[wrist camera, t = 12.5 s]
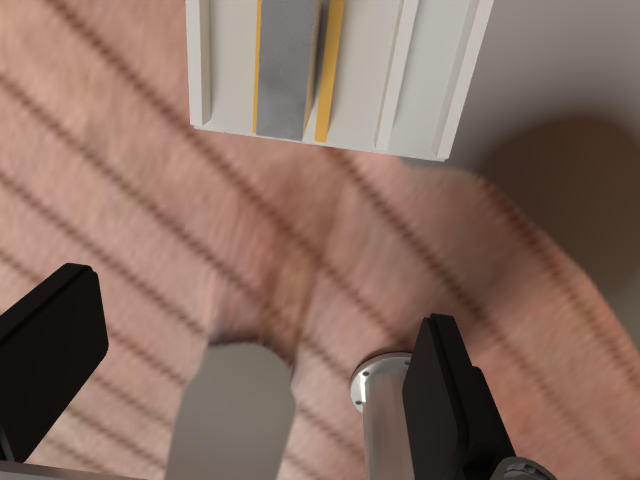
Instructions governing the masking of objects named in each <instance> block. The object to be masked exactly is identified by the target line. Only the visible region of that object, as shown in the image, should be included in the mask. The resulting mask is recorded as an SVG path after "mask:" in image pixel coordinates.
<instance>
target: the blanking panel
mask: <svg viewBox="0 0 640 480" xmlns="http://www.w3.org/2000/svg"><path fill="white" fill-rule="evenodd" d="M323 5H324V4H323V3H322V2H321V1H319V0H262V1H261V26H260V50H259V74H258V99H257V123H256V135H259V136H266V137H274V138H281V139H289V140H296V141H302V140H303V137H304V133H305V130H306V127H307V124H308V121H309V118H310V115H311V112H312V107H313V98H314V88H315V79H316V70H317V60H318V51H319V42H320V33H321V23H322V14H323Z"/></svg>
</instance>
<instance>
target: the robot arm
mask: <svg viewBox="0 0 640 480" xmlns="http://www.w3.org/2000/svg"><path fill="white" fill-rule="evenodd" d="M108 346H109V343H108V336H107V330H106V324H105V317H104V311H103V305H102V298H101V292H100V285H99V279H98V274H97V273H96V272H94V271H93V270H92V268H91V267H90V266H88V265H81V264H74V263H66V264H64V265H63V266H61V267H60V268H59V269H58V270H57V271H55V272H54V273H53V274H52V275H50V276H49V277H48V278H47V279H45V280H44V281H43V282H42V283H40V284H39V285H38V286H37V287H35V288H34V289H33V290H32V291H30V292H29V293H28V294H27V295H25V296H24V297H23V298H22V299H20V300H19V301H18V302H17V303H15V304H14V305H13V306H12V307H10V308H9V309H8V310H7V311H5V312H4V313H3V314H2V315H1V316H0V480H146V479H139V478H132V477H124V476H117V475H109V474H102V473H94V472H86V471H79V470H71V469H64V468H56V467H48V466H41V465H33V464H26V463H23V462H25V461H26V460H27V458H28V457H29V456H30V455H31V453H32V452H33V451H34V449H35V448H36V447H37V445H38V444H39V443H40V441H41V440H42V439H43V438H44V436H45V435H46V434H47V432H48V431H49V430H50V428H51V427H52V426H53V424H54V423H55V422H56V420H57V419H58V418H59V416H60V415H61V414H62V412H63V411H64V410H65V408H66V407H67V406H68V405H69V403H70V402H71V401H72V399H73V398H74V397H75V395H76V394H77V393H78V391H79V390H80V389H81V387H82V386H83V385H84V383H85V382H86V381H87V379H88V378H89V377H90V376H91V374H92V373H93V372H94V370H95V369H96V368H97V366H98V365H99V364H100V362H101V361H102V360H103V358H104V357H105V355H106V353H107V351H108ZM350 397H351V400H352V403H353V404H354V406H355V407H356V408H357V409H358V410H359V411H360V412H361V413H362V414H363V430H364V450H365V469H366V480H557V478H556V477H555V476H554V475H553V474H552V473H550V472H549V471H548V470H547V469H546V468H544V467H543V466H541V465H540V464H538V463H536V462H534V461H533V460H530V459H526V458H523V457H517V456H516V454H515V451H514V449H513V447H512V444H511V442H510V439H509V437H508V434H507V432H506V429H505V427H504V424H503V422H502V419H501V417H500V414H499V412H498V409H497V407H496V404H495V402H494V399H493V397H492V395H491V392H490V390H489V387H488V385H487V382H486V380H485V377H484V375H483V373H482V371H481V369H480V368H478V367H475V366H472V364H471V361H470V358H469V356H468V353H467V351H466V348H465V345H464V343H463V340H462V337H461V335H460V332H459V330H458V327H457V324H456V322H455V319H454V317H453V316H449V315H442V314H434V313H433V314H431V316H430V318H426V317H425V318H424V319H423V321H422V324H421V328H420V331H419V334H418V337H417V341H416V344H415V347H414V350H413V354H412V353H405V352H395V353H387V354H383V355H379V356H376V357H374V358H372V359H369V360H368V361H366V362H365V363H363V364H362V365H361V366H360V367H359V368H358V369H356V371H355V372H354V374H353V375H352V378H351V381H350Z"/></svg>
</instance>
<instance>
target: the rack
mask: <svg viewBox="0 0 640 480" xmlns="http://www.w3.org/2000/svg"><path fill="white" fill-rule="evenodd" d="M261 1H262V0H186V24H187V50H188V76H189V102H190V125H194V127H195V129H202V130H210V131H217V132H225V133H232V134H240V135H247V136H255V137H262V138H270V139H277V140H284V141H292V142H299V143H307V144H314V145H322V146H329V147H337V148H344V149H352V150H359V151H367V152H374V153H382V154H389V155H397V156H404V157H411V158H419V159H426V160H434V161H442V162H444V161H445V159H448V158H449V155H450V151H451V148H452V144H453V141H454V137H455V134H456V130H457V127H458V124H459V120H460V116H461V113H462V110H463V106H464V103H465V100H466V96H467V93H468V89H469V86H470V82H471V78H472V75H473V72H474V68H475V65H476V61H477V58H478V54H479V51H480V48H481V44H482V41H483V37H484V34H485V30H486V27H487V23H488V20H489V16H490V13H491V9H492V6H493V2H494V0H319V1H321V2H322V3H323V4H324V5H323V14H322V23H321V33H320V42H319V51H318V60H317V70H316V79H315V88H314V98H313V107H312V112H311V115H310V118H309V121H308V124H307V127H306V130H305V133H304V137H303V140H302V141H296V140H289V139H281V138H274V137H266V136H259V135H256V123H257V99H258V74H259V50H260V26H261Z"/></svg>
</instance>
